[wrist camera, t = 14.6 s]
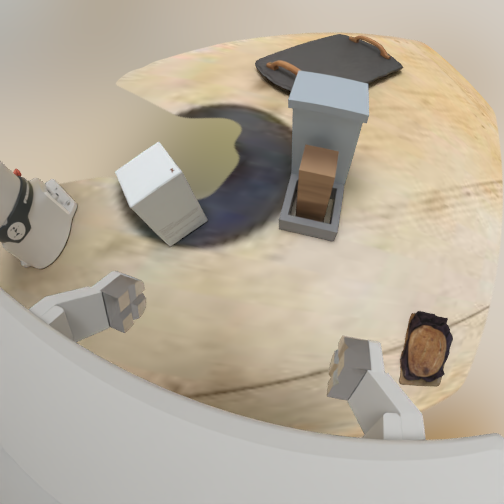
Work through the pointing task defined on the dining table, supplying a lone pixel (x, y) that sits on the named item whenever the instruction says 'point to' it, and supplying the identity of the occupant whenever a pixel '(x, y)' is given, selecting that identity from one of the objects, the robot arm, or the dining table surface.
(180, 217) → the supplement box
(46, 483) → the robot arm
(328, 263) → the dining table surface
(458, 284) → the dining table surface
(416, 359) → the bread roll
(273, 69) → the serving board
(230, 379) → the dining table surface
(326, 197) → the walnut block
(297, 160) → the pale blue tower
